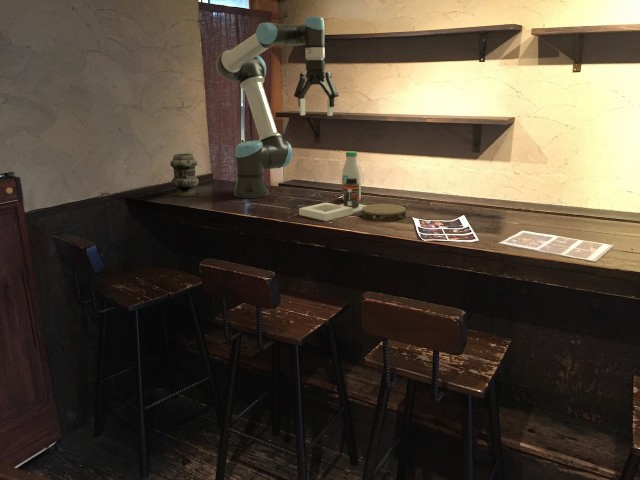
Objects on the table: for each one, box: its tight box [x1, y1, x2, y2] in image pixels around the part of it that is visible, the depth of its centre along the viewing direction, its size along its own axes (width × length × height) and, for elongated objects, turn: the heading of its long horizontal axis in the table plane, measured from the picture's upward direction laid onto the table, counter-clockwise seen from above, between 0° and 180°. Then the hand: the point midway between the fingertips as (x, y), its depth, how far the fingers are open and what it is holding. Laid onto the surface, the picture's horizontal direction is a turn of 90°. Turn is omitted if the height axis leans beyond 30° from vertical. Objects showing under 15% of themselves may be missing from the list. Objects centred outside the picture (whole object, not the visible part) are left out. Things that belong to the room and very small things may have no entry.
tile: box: [340, 203, 367, 214], centre depth 206 cm, size 12×12×1 cm
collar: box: [298, 202, 354, 222], centre depth 196 cm, size 14×14×2 cm
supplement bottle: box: [343, 177, 360, 208], centre depth 204 cm, size 6×6×11 cm
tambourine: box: [361, 203, 407, 222], centre depth 193 cm, size 16×16×3 cm
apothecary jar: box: [169, 152, 200, 197], centre depth 238 cm, size 12×12×18 cm
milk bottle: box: [341, 151, 362, 201], centre depth 219 cm, size 8×8×20 cm
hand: (316, 115), depth 212 cm, fingers open, 13 cm apart
